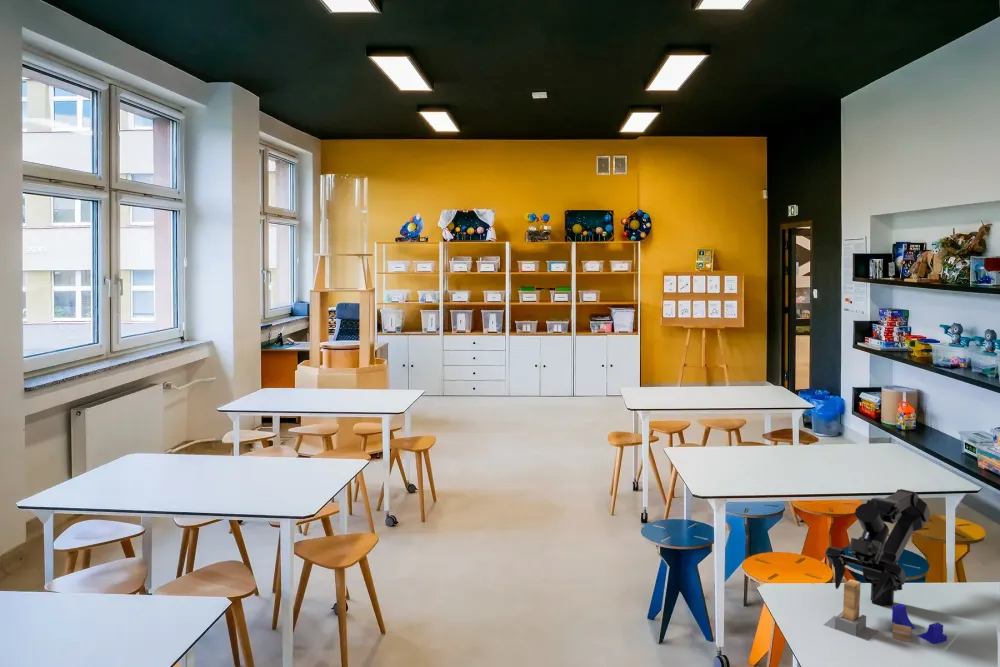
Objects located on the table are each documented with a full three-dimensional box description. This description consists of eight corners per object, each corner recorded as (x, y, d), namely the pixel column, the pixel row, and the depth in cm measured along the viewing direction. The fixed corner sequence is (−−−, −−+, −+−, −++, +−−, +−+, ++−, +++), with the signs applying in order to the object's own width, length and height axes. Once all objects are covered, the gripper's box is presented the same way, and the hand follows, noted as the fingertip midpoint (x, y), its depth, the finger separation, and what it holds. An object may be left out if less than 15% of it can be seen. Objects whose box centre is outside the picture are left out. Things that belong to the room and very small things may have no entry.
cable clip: (946, 647, 181) (947, 624, 180) (933, 650, 179) (934, 627, 179) (904, 625, 192) (905, 603, 192) (891, 628, 190) (892, 606, 190)
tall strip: (848, 623, 190) (850, 579, 189) (858, 626, 188) (860, 582, 187) (842, 628, 187) (844, 583, 186) (852, 632, 185) (854, 586, 184)
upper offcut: (892, 629, 186) (893, 623, 186) (910, 633, 184) (911, 626, 184) (892, 638, 182) (892, 631, 182) (910, 642, 180) (910, 635, 180)
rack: (834, 621, 194) (834, 604, 193) (877, 636, 186) (878, 619, 186) (823, 630, 189) (823, 613, 189) (867, 646, 181) (868, 628, 181)
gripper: (829, 517, 197) (810, 567, 190) (904, 535, 183) (886, 590, 177) (839, 537, 203) (821, 587, 196) (913, 557, 189) (896, 611, 183)
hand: (854, 593), depth 188 cm, fingers open, 9 cm apart
